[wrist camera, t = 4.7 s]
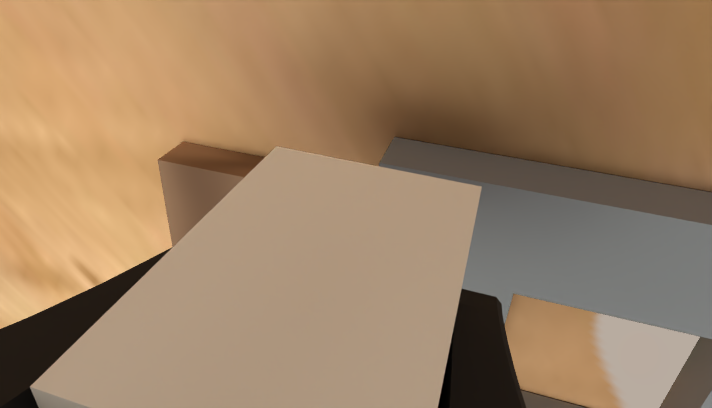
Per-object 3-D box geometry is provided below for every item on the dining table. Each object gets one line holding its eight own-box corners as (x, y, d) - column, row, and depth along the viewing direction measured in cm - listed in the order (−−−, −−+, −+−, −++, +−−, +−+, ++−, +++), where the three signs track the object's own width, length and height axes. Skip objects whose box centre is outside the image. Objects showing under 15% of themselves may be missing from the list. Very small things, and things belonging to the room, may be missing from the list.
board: (979, 238, 14) (1038, 286, 12) (742, 515, 21) (759, 567, 20) (394, 136, 17) (379, 162, 16) (367, 404, 25) (355, 441, 23)
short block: (294, 158, 19) (272, 182, 18) (296, 254, 22) (276, 283, 20) (188, 138, 20) (157, 159, 19) (201, 232, 23) (174, 258, 21)
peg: (481, 186, 9) (414, 519, 4) (447, 342, 11) (376, 682, 7) (276, 146, 10) (29, 387, 5) (280, 297, 12) (106, 569, 7)
